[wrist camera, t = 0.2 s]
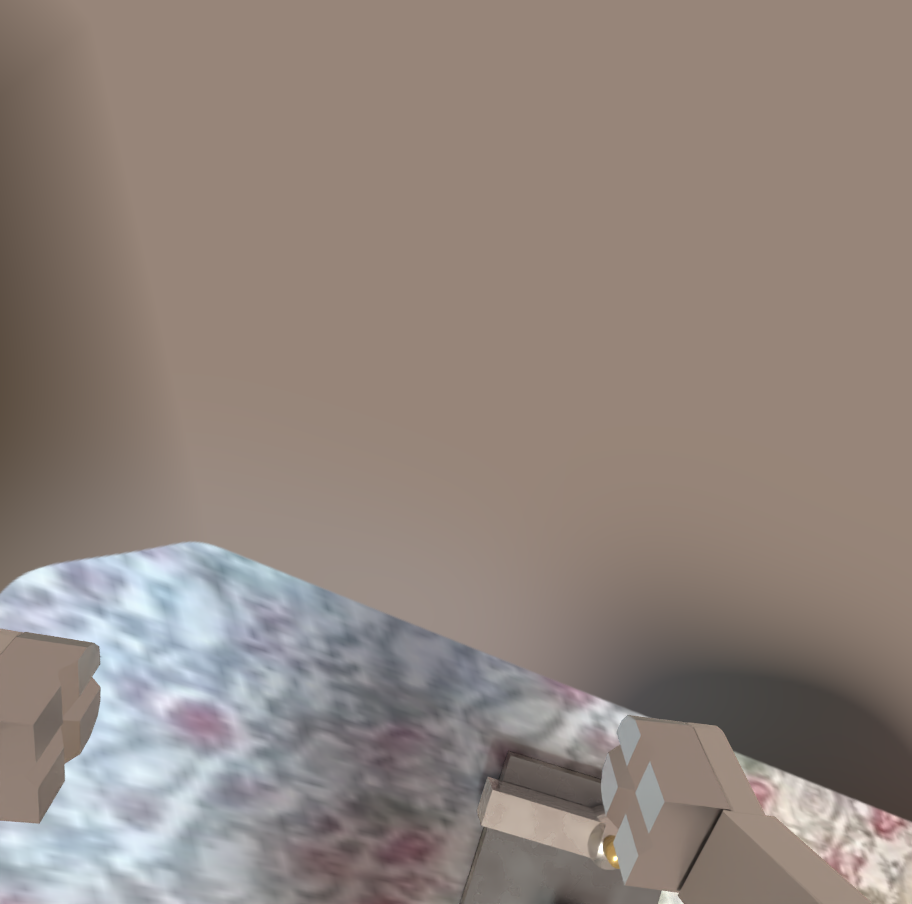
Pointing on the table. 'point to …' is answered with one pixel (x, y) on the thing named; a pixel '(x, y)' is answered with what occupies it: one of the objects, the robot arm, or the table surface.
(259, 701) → the table surface
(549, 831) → the link
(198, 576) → the table surface
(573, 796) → the pintle base
